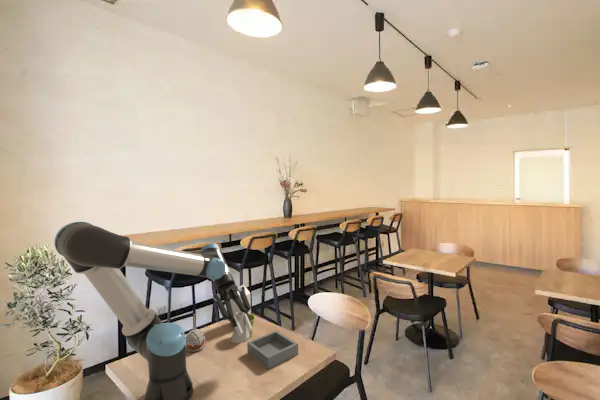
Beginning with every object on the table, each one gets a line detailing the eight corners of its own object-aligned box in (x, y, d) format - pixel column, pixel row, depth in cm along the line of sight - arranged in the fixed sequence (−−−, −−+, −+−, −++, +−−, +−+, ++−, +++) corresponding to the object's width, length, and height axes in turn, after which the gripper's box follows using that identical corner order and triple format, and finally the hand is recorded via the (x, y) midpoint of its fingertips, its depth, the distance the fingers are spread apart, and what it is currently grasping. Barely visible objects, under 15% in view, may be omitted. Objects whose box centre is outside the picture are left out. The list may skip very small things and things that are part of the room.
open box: (268, 369, 123) (268, 358, 123) (247, 352, 134) (247, 342, 134) (298, 354, 133) (298, 343, 132) (276, 340, 144) (276, 330, 144)
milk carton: (231, 324, 159) (229, 287, 157) (240, 318, 165) (238, 282, 163) (242, 328, 155) (241, 289, 154) (251, 321, 162) (250, 285, 160)
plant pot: (233, 332, 151) (233, 315, 150) (253, 329, 154) (253, 312, 153) (236, 343, 142) (235, 324, 141) (257, 339, 145) (256, 320, 144)
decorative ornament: (209, 345, 140) (207, 312, 139) (195, 354, 134) (193, 320, 132) (196, 341, 144) (194, 309, 143) (182, 349, 137) (180, 316, 136)
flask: (246, 344, 119) (245, 318, 118) (228, 342, 120) (226, 317, 119) (252, 334, 126) (251, 309, 125) (235, 332, 127) (234, 308, 126)
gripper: (237, 277, 138) (260, 328, 127) (200, 287, 127) (222, 344, 117) (243, 268, 134) (267, 320, 123) (205, 278, 123) (229, 336, 112)
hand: (245, 332), depth 120 cm, fingers closed on flask, 3 cm apart
